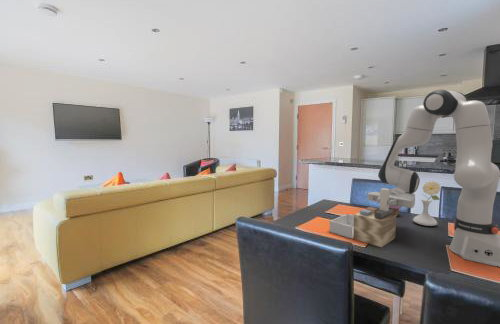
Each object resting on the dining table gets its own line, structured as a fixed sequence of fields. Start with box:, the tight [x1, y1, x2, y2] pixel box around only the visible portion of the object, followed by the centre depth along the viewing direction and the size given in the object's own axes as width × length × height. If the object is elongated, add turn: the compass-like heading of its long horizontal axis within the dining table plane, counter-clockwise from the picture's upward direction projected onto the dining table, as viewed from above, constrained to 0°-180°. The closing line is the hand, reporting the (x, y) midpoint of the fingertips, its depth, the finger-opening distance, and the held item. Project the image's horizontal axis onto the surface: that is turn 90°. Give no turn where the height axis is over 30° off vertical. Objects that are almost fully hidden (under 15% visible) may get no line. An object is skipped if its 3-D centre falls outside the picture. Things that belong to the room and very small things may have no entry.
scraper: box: [374, 187, 393, 219], centre depth 119 cm, size 3×13×12 cm, turn 131°
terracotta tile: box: [365, 206, 379, 213], centre depth 127 cm, size 4×4×2 cm
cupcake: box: [389, 205, 402, 217], centre depth 160 cm, size 9×9×10 cm
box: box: [329, 213, 354, 240], centre depth 133 cm, size 12×18×6 cm, turn 131°
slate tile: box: [359, 208, 372, 216], centre depth 122 cm, size 4×4×2 cm
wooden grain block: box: [352, 211, 397, 248], centre depth 123 cm, size 13×16×12 cm
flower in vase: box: [412, 180, 442, 227], centre depth 142 cm, size 13×11×25 cm
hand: (383, 201), depth 118 cm, fingers closed on scraper, 3 cm apart
